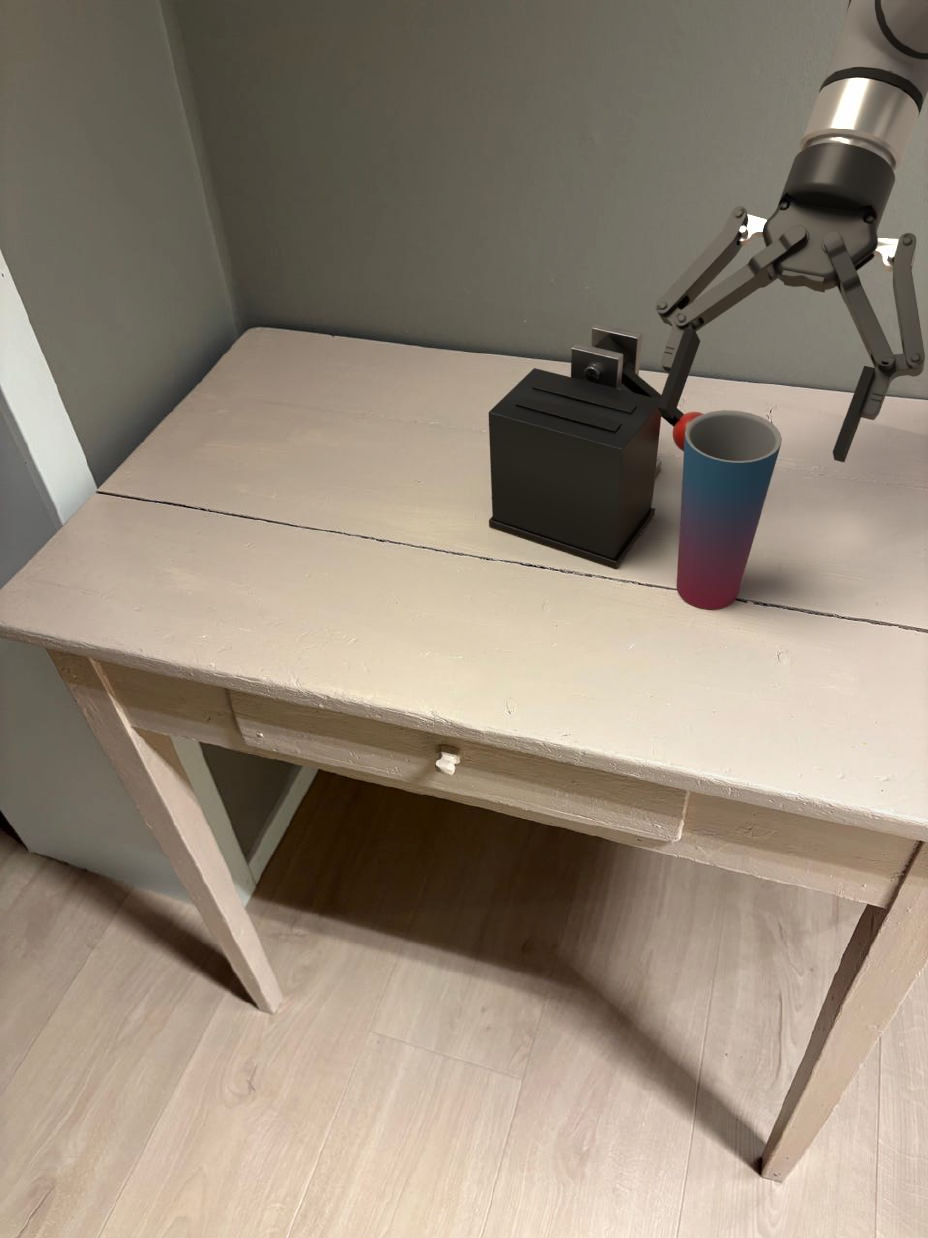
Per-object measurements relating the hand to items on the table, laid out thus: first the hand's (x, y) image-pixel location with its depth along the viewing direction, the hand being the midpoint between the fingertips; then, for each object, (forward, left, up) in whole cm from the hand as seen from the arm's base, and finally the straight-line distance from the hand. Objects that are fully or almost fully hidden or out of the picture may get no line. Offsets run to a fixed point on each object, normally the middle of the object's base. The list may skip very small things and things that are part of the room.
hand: (748, 434), depth 73 cm
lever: (+11, -7, -5) cm, 14 cm away
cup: (0, +4, -13) cm, 13 cm away
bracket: (+15, -7, -13) cm, 21 cm away
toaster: (+14, +1, -13) cm, 19 cm away
